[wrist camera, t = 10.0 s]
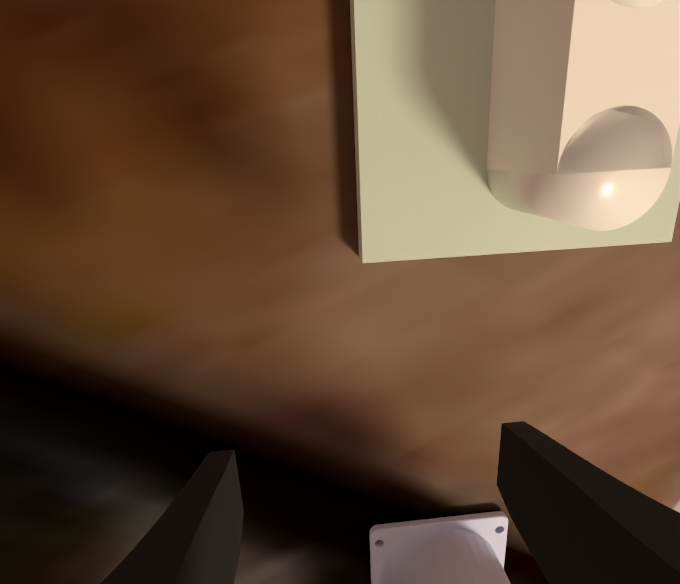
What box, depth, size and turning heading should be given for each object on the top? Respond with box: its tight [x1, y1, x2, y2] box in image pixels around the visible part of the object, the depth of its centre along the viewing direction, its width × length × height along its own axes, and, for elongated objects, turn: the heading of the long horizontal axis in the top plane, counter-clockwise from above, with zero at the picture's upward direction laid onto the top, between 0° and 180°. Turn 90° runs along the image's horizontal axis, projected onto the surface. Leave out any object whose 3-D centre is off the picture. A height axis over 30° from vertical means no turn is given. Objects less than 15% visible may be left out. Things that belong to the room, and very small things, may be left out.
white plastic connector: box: [486, 0, 680, 231], centre depth 14 cm, size 12×4×5 cm, turn 3°
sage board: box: [350, 0, 680, 263], centre depth 17 cm, size 13×14×1 cm
